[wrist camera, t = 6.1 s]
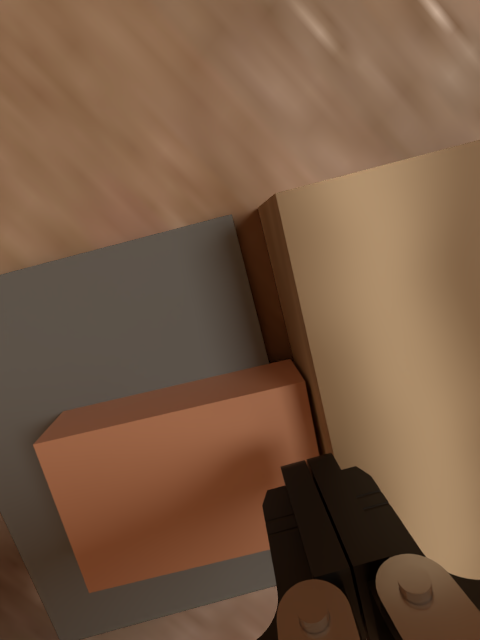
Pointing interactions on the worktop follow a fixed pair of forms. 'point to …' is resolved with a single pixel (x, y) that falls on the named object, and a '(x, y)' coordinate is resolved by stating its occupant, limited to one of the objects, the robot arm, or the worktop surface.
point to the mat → (117, 395)
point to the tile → (175, 471)
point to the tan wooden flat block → (392, 333)
